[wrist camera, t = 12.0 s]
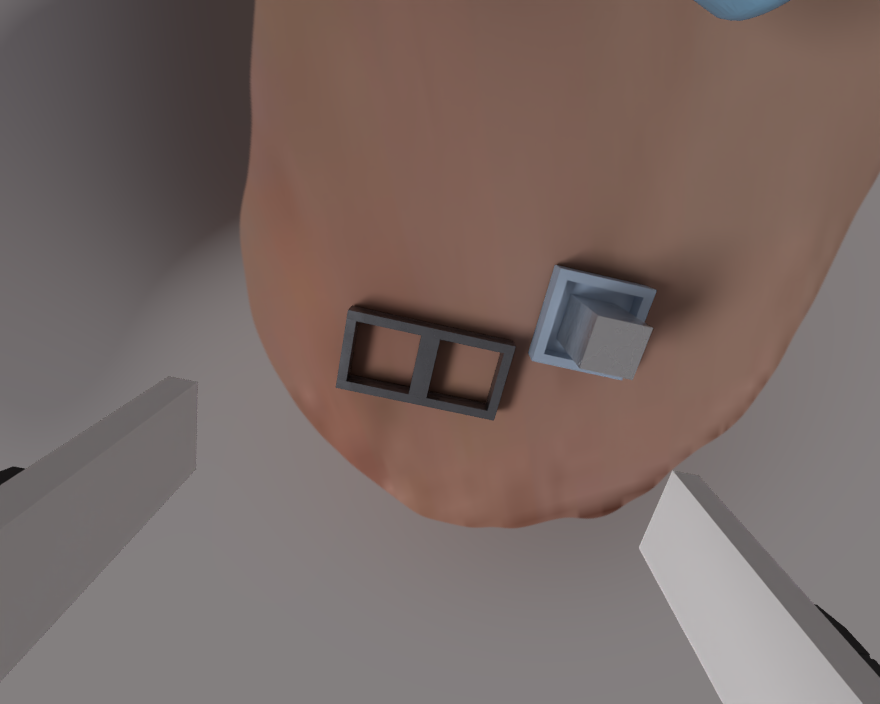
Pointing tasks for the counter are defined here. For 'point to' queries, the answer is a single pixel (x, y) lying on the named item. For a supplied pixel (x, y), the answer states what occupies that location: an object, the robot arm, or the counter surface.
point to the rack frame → (423, 363)
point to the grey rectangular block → (603, 337)
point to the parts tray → (589, 286)
